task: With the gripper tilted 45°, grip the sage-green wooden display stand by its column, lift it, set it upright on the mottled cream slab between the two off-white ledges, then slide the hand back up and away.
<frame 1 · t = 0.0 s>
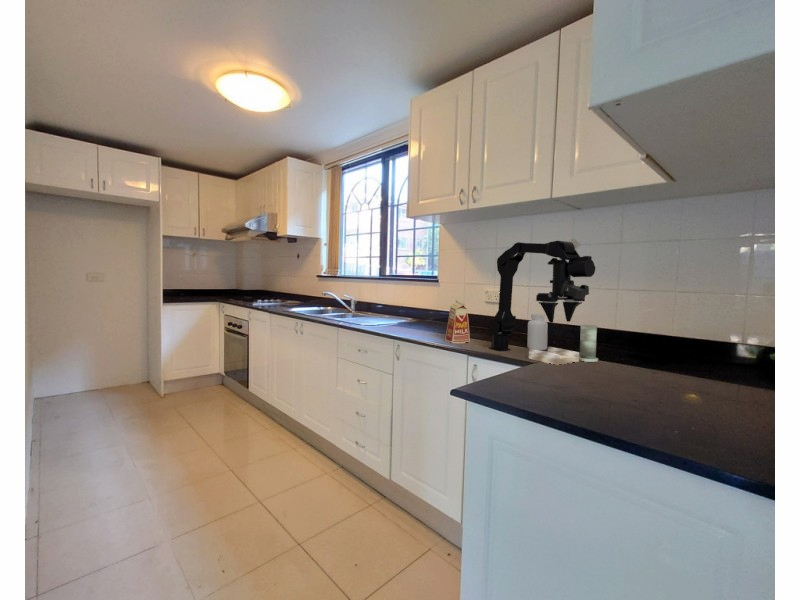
hand: (559, 322, 119), 15 cm above the worktop, tool pointing down, fingers open, 9 cm apart
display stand: (587, 360, 125), on the worktop
mottled cream slab: (553, 360, 125), on the worktop
milk carton: (457, 342, 162), on the worktop
pill bottle: (536, 349, 147), on the worktop
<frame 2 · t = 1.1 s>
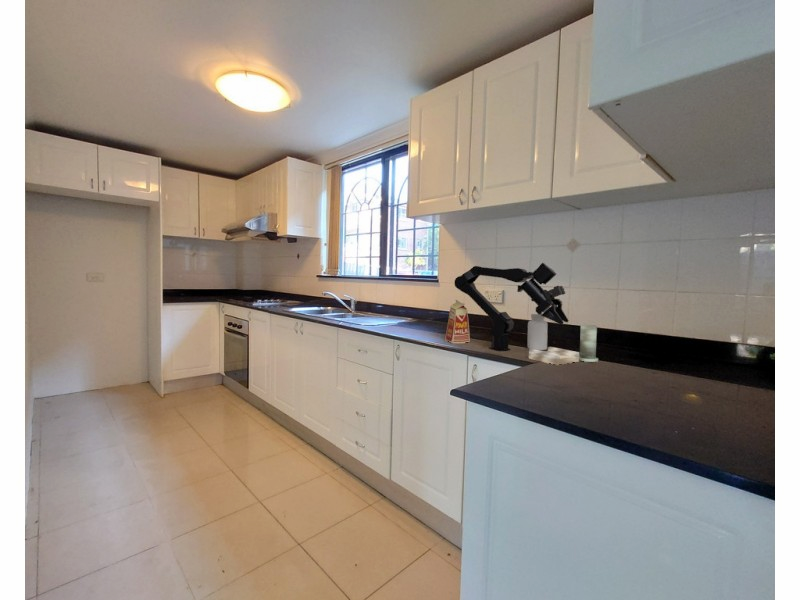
hand: (565, 322, 129), 13 cm above the worktop, tool tilted 45°, fingers open, 9 cm apart
nothing on the worktop moved.
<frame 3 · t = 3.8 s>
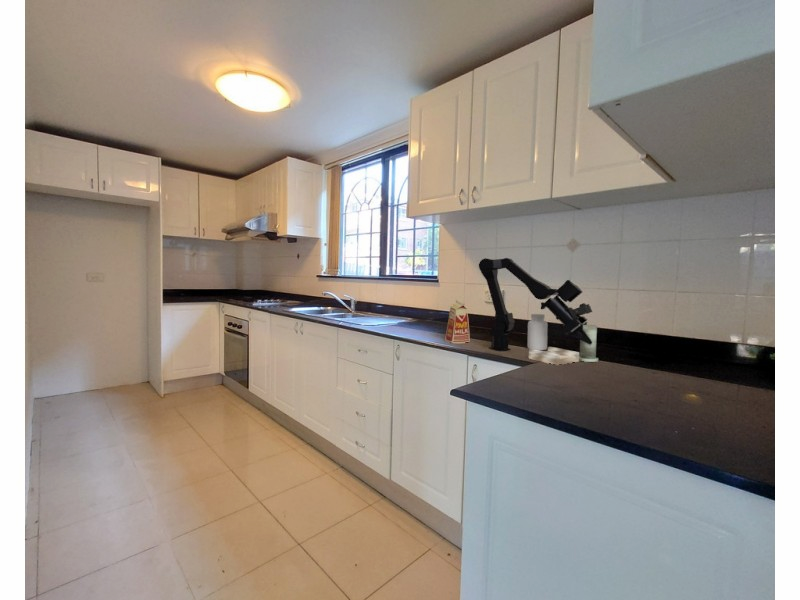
hand: (592, 342, 124), 7 cm above the worktop, tool tilted 45°, fingers closed on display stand, 5 cm apart
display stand: (587, 360, 125), on the worktop, touching gripper
everything else where it was.
when the fingers open (10 cm above the worktop, at t = 7.2 s): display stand drops 1 cm, resting on mottled cream slab.
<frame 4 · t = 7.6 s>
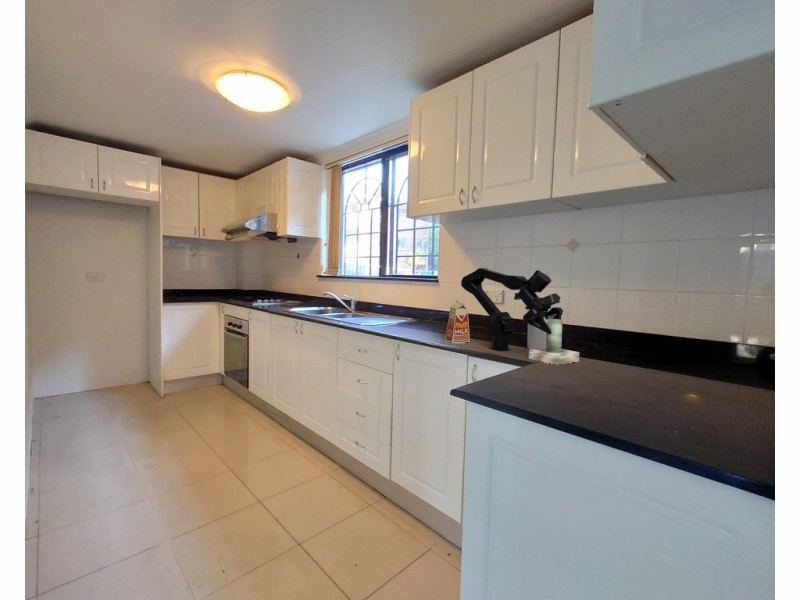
hand: (557, 332, 124), 10 cm above the worktop, tool tilted 45°, fingers open, 9 cm apart
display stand: (553, 354, 125), point 2 cm above the worktop, touching mottled cream slab
everything else where it was.
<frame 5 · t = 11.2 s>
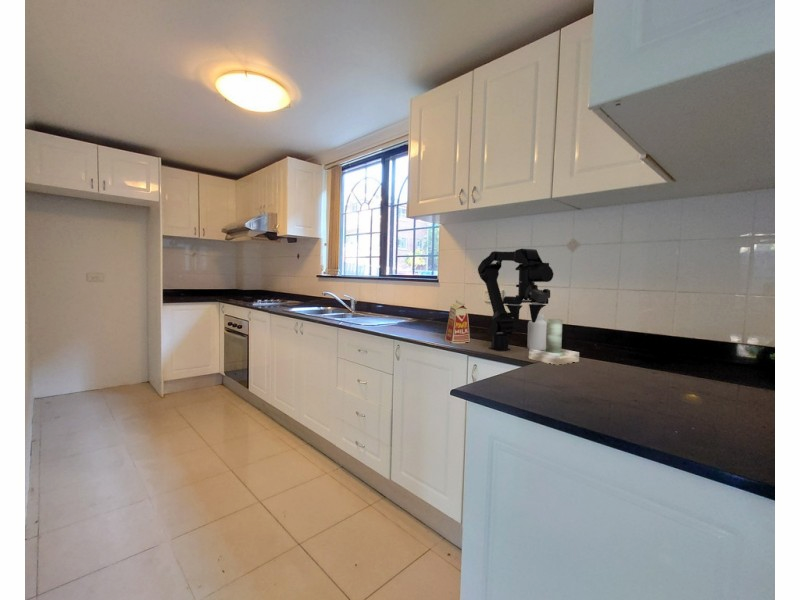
hand: (525, 322, 130), 13 cm above the worktop, tool pointing down, fingers open, 9 cm apart
nothing on the worktop moved.
at the end: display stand 0.1 cm off-centre on the mottled cream slab, point 2.0 cm above the mottled cream slab's base; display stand tilted 0°; the gripper is holding nothing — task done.
